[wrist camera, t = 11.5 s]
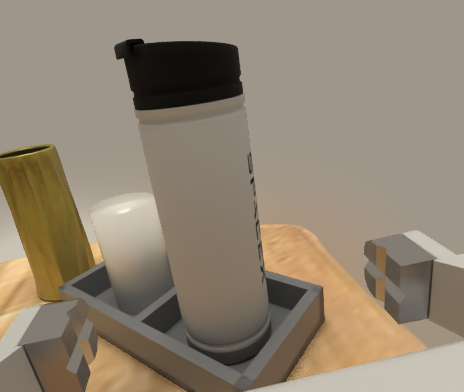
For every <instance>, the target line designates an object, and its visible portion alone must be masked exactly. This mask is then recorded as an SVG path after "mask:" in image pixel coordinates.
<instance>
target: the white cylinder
mask: <svg viewBox="0 0 464 392" xmlns="http://www.w3.org/2000/svg"><path fill="white" fill-rule="evenodd" d="M89 214H90V217H91V221H92V224H93V227H94V231H95V234H96V237H97V240H98V244H99V247H100V250H101V254H102V257H103V260H104V263H105V267H106V270H107V273H108V276H109V280H110V283H111V286H112V289H113V293H114V296H115V299H116V302H117V306H118V308H119V310H120V311H122V312H123V313H126V314H131V315H138V314H139V313H141V312H142V311H143V310H145V309H146V308H147V307H148V306H150V305H151V304H152V303H154V302H155V301H156V300H158V299H159V298H160V297H162V296H163V295H164V294H165V293H167V292H168V291H169V290H171V289H172V288H173V287H175V286H174V281H173V277H172V272H171V268H170V264H169V259H168V255H167V251H166V246H165V242H164V238H163V233H162V229H161V225H160V220H159V216H158V212H157V207H156V203H155V199H154V196H153V195H152V194H150V193H144V192H137V193H128V194H123V195H118V196H115V197H111V198H109V199H106V200H103V201H101V202H99V203H97V204H96V205H94V206H93V207H92V208H91V209H90V210H89Z"/></svg>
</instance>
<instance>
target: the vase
mask: <svg viewBox="0 0 464 392" xmlns="http://www.w3.org/2000/svg"><path fill="white" fill-rule="evenodd" d="M0 185H1V188H2V190H3V193H4V195H5V197H6V200H7V203H8V205H9V208H10V210H11V213H12V216H13V219H14V221H15V225H16V227H17V230H18V233H19V236H20V239H21V242H22V244H23V247H24V250H25V253H26V255H27V258H28V261H29V264H30V266H31V269H32V272H33V275H34V278H35V282H36V287H37V293H38V296H39V297H40V298H41V299H44V300H48V301H57V300H62V299H61V296H60V293H59V291H58V287H60V286H62V285H63V284H65V283H67V282H69V281H70V280H72V279H74V278H76V277H77V276H79V275H81V274H83V273H84V272H86V271H88V270H90V269H91V268H93V267H95V266H96V264H95V261H94V258H93V254H92V251H91V248H90V245H89V242H88V239H87V236H86V233H85V230H84V227H83V225H82V222H81V219H80V216H79V213H78V211H77V208H76V205H75V202H74V199H73V197H72V194H71V191H70V188H69V185H68V182H67V180H66V177H65V173H64V170H63V167H62V164H61V161H60V158H59V155H58V152H57V150H56V147H55V145H53V144H44V145H36V146H30V147H24V148H20V149H15V150H11V151H7V152H3V153H0Z"/></svg>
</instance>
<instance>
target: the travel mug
mask: <svg viewBox="0 0 464 392" xmlns="http://www.w3.org/2000/svg"><path fill="white" fill-rule="evenodd" d="M114 49H115V54H116V58H117V59H122V58H124V61H125V65H126V70H127V74H128V78H129V82H130V88H131V91H133V92H134V98H133V101H134V106H135V115H136V117H137V118H138V119H139V120H140V122H139V123H138V128H139V132H140V136H141V141H142V145H143V150H144V154H145V158H146V162H147V167H148V172H149V176H150V180H151V185H152V189H153V193H154V198H155V202H156V207H157V211H158V215H159V220H160V224H161V228H162V233H163V237H164V241H165V246H166V250H167V255H168V259H169V263H170V268H171V272H172V276H173V281H174V285H175V290H176V294H177V298H178V303H179V307H180V311H181V316H182V320H183V324H184V329H185V333H186V338H187V342H188V345H189V347H190V348H192V349H194V350H196V351H198V352H200V353H202V354H204V355H206V356H208V357H210V358H212V359H214V360H215V361H217V362H219V363H221V364H232V363H237V362H241V361H243V360H246V359H248V358H250V357H252V356H253V355H255V354H256V353H258V352H259V351H260V350H261V349H262V348H263V347H264V345H265V344H266V343H267V342H268V339H269V337H270V335H271V329H272V328H271V318H270V310H269V301H268V293H267V284H266V276H265V267H264V259H263V250H262V241H261V233H260V224H259V216H258V207H257V199H256V190H255V182H254V174H253V165H252V156H251V148H250V140H249V130H248V122H247V113H246V108H245V107H244V106H243V103H244V101H245V97H244V93H243V88H242V82H241V81H240V79H239V76H240V75H241V71H240V63H239V54H238V48H237V47H236V46H234V45H231V44H226V43H218V42H202V41H173V42H156V43H146V44H145V43H144V41H143V40H142V39H130V40H126V41H124V42H121V43H119V44H117V45H115V47H114Z"/></svg>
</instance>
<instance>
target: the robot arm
mask: <svg viewBox="0 0 464 392" xmlns="http://www.w3.org/2000/svg"><path fill="white" fill-rule="evenodd" d="M364 255H365V256H366V257H367V258H368V259H369V261H368V263H367V264H366V266H365V269H364V270H365V280H366V283H367V287H368V288H369V290H370V292H371V293H372V294H373V296H374V297H375V298H376V299H378V300H381V301H383V302H385V310H386V311H387V312H388V313H389V314H390V315H391V316H392V317H393V319H394V320H395V321H396V322H397V323H398V324H403V323H408V322H413V321H419V320H423V319H429V320H430V321H432V322H434V323H436V324H438V325H440V326H442V327H444V328H446V329H448V330H450V331H452V332H454V333H456V334H458V335H460V336H462V337H464V254H460V255H456V254H454V253H453V252H451V251H449V250H448V249H446V248H445V247H443V246H442V245H440V244H439V243H437V242H435V241H434V240H432V239H431V238H429V237H428V236H426V235H424V234H423V233H421V232H419V231H415V230H413V231H409V232H406V233H401V234H397V235H393V236H388V237H384V238H379V239H375V240H370V241H367V242H366V243H365V247H364ZM88 312H89V309H88V306H87V303H86V301H85V300H84V299H83V298H76V299H71V300H65V301H60V302H54V303H48V304H44V305H43V304H42V305H37V306H32V307H28V308H25V309H22V310H21V311H20V313H19V314H18V316H17V317H16V318H15V320H14V321H13V323H12V324H11V326H10V327H9V329H8V330H7V332H6V333H5V334H4V336H3V337H2V339H1V340H0V392H85V389H86V386H87V383H88V379H89V376H90V370H89V367H88V365H89V364H90V363H91V362H92V361H93V360H94V359H95V356H96V352H97V340H98V339H97V333H96V329H95V326H94V323H92V322H91V321H89V320H88V319H86V317H87V315H88ZM244 392H464V340H463V341H459V342H455V343H450V344H447V345H442V346H438V347H434V348H429V349H425V350H420V351H416V352H412V353H407V354H403V355H399V356H394V357H390V358H386V359H382V360H377V361H373V362H369V363H364V364H360V365H356V366H351V367H347V368H343V369H338V370H334V371H330V372H326V373H321V374H317V375H313V376H308V377H304V378H300V379H296V380H291V381H287V382H283V383H278V384H274V385H270V386H266V387H261V388H257V389H253V390H248V391H244Z"/></svg>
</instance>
